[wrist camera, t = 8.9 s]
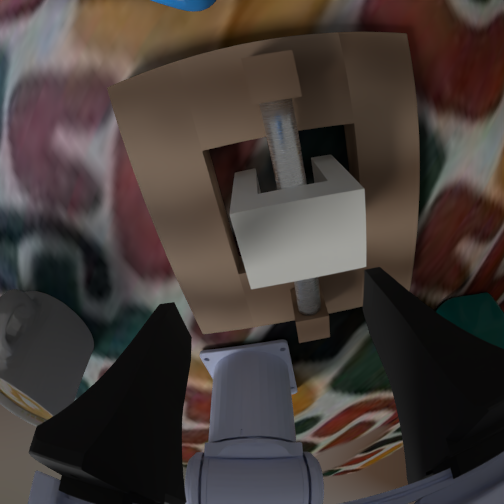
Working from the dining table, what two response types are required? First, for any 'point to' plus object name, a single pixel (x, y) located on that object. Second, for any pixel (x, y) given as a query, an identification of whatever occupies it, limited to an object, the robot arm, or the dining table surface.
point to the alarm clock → (187, 4)
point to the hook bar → (289, 178)
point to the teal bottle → (476, 316)
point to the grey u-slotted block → (300, 225)
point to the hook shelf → (252, 127)
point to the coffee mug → (40, 354)
